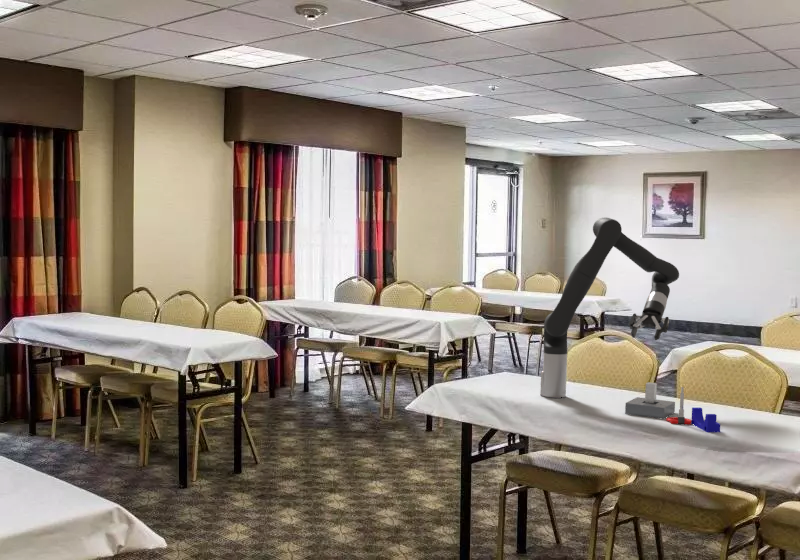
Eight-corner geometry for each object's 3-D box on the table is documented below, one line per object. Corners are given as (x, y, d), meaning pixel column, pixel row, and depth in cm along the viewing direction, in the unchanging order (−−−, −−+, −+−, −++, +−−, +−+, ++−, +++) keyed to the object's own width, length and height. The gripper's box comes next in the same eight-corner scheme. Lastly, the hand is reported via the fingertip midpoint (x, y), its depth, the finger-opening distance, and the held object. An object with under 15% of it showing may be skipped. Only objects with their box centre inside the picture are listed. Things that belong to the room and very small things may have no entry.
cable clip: (720, 432, 289) (720, 414, 289) (707, 432, 289) (707, 414, 288) (703, 424, 301) (704, 407, 301) (691, 424, 301) (692, 407, 300)
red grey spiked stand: (664, 419, 309) (668, 424, 300) (666, 383, 309) (670, 386, 300) (689, 421, 308) (693, 425, 299) (690, 384, 308) (695, 388, 299)
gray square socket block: (625, 413, 315) (625, 402, 315) (636, 407, 327) (637, 397, 327) (664, 419, 308) (664, 407, 308) (674, 412, 320) (675, 401, 319)
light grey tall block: (644, 413, 317) (645, 383, 316) (646, 411, 320) (647, 382, 319) (653, 414, 315) (654, 384, 315) (655, 413, 318) (656, 383, 318)
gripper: (635, 297, 340) (624, 329, 331) (672, 301, 332) (661, 333, 323) (638, 310, 344) (627, 341, 335) (675, 314, 337) (664, 346, 328)
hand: (644, 337), depth 329 cm, fingers open, 8 cm apart
